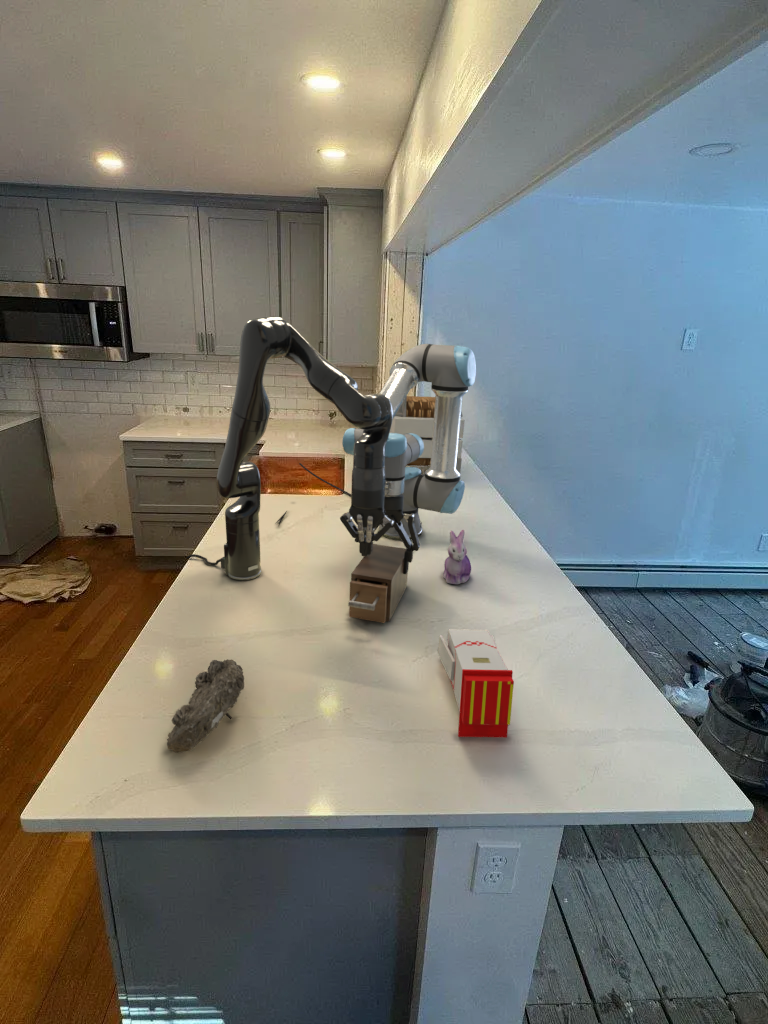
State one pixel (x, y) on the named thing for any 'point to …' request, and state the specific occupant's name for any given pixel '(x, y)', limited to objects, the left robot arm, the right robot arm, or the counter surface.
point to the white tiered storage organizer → (421, 426)
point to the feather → (281, 519)
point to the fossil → (206, 705)
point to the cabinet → (385, 573)
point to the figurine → (457, 560)
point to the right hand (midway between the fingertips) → (386, 569)
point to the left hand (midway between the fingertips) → (365, 555)
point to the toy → (478, 682)
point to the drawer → (368, 600)
